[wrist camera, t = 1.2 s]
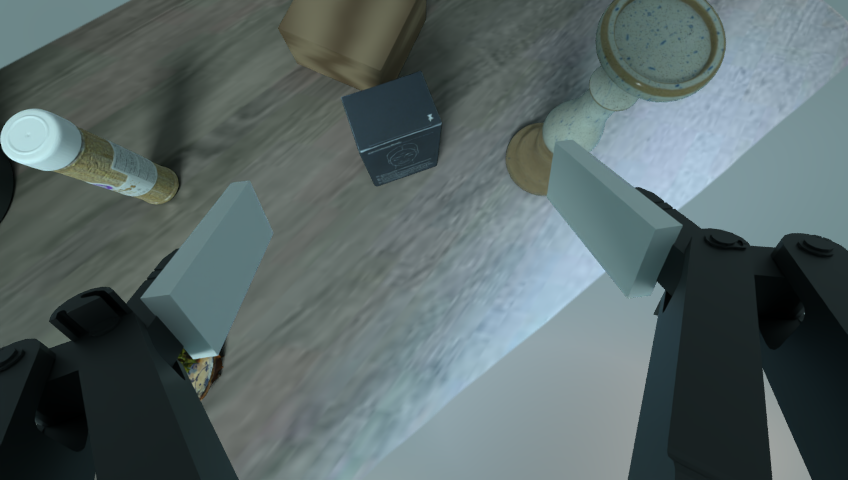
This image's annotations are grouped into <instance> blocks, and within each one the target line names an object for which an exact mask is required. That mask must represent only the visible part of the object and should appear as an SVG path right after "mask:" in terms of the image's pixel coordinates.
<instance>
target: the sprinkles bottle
mask: <svg viewBox="0 0 848 480" xmlns="http://www.w3.org/2000/svg"><path fill="white" fill-rule="evenodd" d="M0 142H1V146H2V149H3V151H4V153H5V154H6V155H7V156H8V157H9V158H11V159H12V160H14V161H16V162H18V163H21V164H24V165H27V166H30V167H33V168H36V169H40V170H44V171H55V172H57V173H61V174H64V175H67V176H70V177H73V178H77V179H80V180H83V181H85V182H87V183H91V184H94V185H97V186H100V187H103V188H107V189H110V190H113V191H116V192H119V193H122V194H125V195H128V196H133V197H136V198H139V199H142V200H144V201H146V202H148V203H151V204H162V203H165V202H167V201H169V200H171V199H172V198H173V197H174V196H175V194H176V192H177V190H178V187H179V183H178V178H177V175H176V174H175V172H173V171H172V170H171V169H169V168H167V167H163V166H160V165H158V164H155V163H153V162H151V161H150V160H148V159H146V158H144V157H142V156H140V155H138V154H136V153H134V152H132V151H130V150H128V149H125V148H123V147H121V146H119V145H117V144H115V143H113V142H110V141H108V140H106V139H104V138H101V137H98V136H96V135H94V134H92V133H89V132H87V131H85V130H83V129H81V128H78V127H76V126H75V125H74V124H73V123H72V122H70V121H68V120H66V119H64V118H62V117H60V116H58V115H56V114H53V113H51V112H49V111H46V110H42V109H27V110H23V111H21V112H19V113H17V114H15V115H14V116H12V117H11V118H10V119H9V120H8V121H7V122H6V123H5V125H4V127H3V129H2V132H1V136H0Z"/></svg>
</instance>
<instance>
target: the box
mask: <svg viewBox="0 0 848 480" xmlns="http://www.w3.org/2000/svg"><path fill="white" fill-rule="evenodd" d="M341 100H342V103H343V106H344V109H345V112H346V115H347V118H348V121H349V124H350V127H351V130H352V133H353V136H354V139H355V142H356V145H357V148H358V151H359V154H360V156H361V158H362V160H363V162H364V164H365V166H366V168H367V170H368V173H369V174H370V177H371V179H372V181H373V183H374V185H375V186H380V185H383V184H386V183H389V182H391V181H394V180H397V179H400V178H403V177H406V176H409V175H412V174H415V173H417V172H420V171H423V170H426V169H429V168H432V167H434V166H437V160H438V152H439V143H440V134H441V125H442V122H441V119H440V117H439V114H438V112H437V109H436V107H435V104H434V102H433V99H432V97H431V94H430V92H429V89H428V87H427V84H426V82H425V79H424V76H423V74H422V72H421V71H419V72H416V73H413V74H410V75H407V76H404V77H401V78H398V79H395V80H392V81H389V82H386V83H383V84H380V85H377V86H374V87H371V88H368V89H365V90H362V91H359V92H356V93H353V94H350V95H347V96H344V97H341Z"/></svg>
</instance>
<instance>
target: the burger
mask: <svg viewBox="0 0 848 480" xmlns="http://www.w3.org/2000/svg"><path fill="white" fill-rule="evenodd" d="M222 357H223V356H222ZM177 359H178V360H179V361H180V363H181V364H182V365H183V366H184V368H185V370H186V372H187V374H188V376H189V378H190V381H191V383H192V385H193V387H194V389H195V391H196V393H197V395H198V397H199V399H200V401H202V400H203V398H204V397H205V396H206V394H207V392H208V390H209V388H210V387H211V385H212V383H213V382H214V381H215V380H216V379H217V378H219V377H220V376H221V375H219V374H218V372H219V371H220V370H221V369H222V368H223V366H222V361H221V357H220V355H218V356H213V357H205V358H198V359H193V358H192V357H191V356H190V355H189V354H188V353H187V351H186V350H185V349H184V348H183V349H182V351H181V353H180V355H179V356H178V358H177Z"/></svg>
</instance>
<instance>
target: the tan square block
mask: <svg viewBox="0 0 848 480" xmlns="http://www.w3.org/2000/svg"><path fill="white" fill-rule="evenodd" d="M425 20H426V0H293V2H292V4H291V5H290V7H289V9H288V11H287V13H286V14H285V16H284V18H283V20H282V22H281V23H280V25H279V27H278V29H279V31H280V33H281V34H282V36H283V38H284V40H285V42H286V44H287V45H288V47H289V49H290V51H291V53H292V55H293V56H294V58H295V60H296V62H297V64H300V65H302V66H305V67H307V68H309V69H312V70H314V71H316V72H319V73H321V74H323V75H326V76H328V77H331V78H333V79H335V80H338V81H340V82H342V83H345V84H347V85H349V86H352V87H354V88H357V89H359V90H361V91H362V90H365V89H368V88H371V87H374V86H377V85H380V84H383V83H386V82H389V81H392V80H395V79H397V77H398V75H399V73H400V71H401V69H402V67H403V65H404V63H405V61H406V59H407V57H408V55H409V53H410V51H411V49H412V47H413V45H414V43H415V41H416V39H417V37H418V34H419V32H420V30H421V28H422V26H423V24H424V22H425Z"/></svg>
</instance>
